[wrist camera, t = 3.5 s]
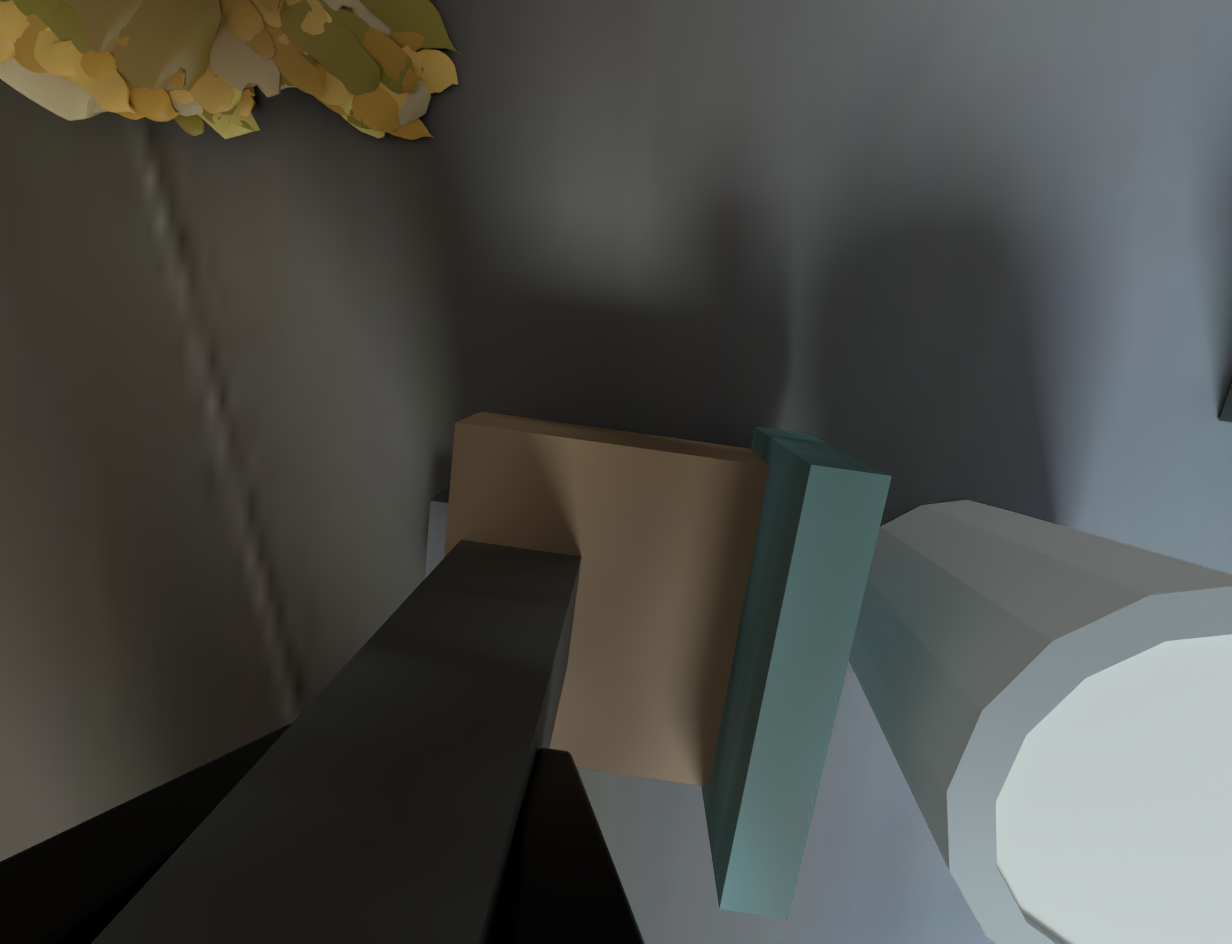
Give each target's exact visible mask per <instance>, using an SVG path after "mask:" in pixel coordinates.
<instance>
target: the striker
mask: <svg viewBox="0 0 1232 944" xmlns="http://www.w3.org/2000/svg"><path fill="white" fill-rule="evenodd" d="M891 478H892V476H891V475H889V474H887V473H885V472H883V471H881V470H879V469H877V468H875V467H873V466H871V465H869V464H867V463H865V462H863V461H861V460H859V459H857V458H856V457H854V456H852V455H850V454H848V453H846V452H844V451H842V450H840V449H838V448H836V447H834V446H832V445H830V444H828V443H826V442H824V441H822V440H820V439H818V438H816V437H814V436H812V435H810V434H806V433H799V432H792V431H785V430H778V429H770V428H763V427H756V426H755V427H754V433H753V438H752V444H751V449H750V448H742V447H735V446H728V445H721V444H714V443H707V442H699V441H692V440H685V439H678V438H671V437H664V436H656V435H649V434H642V433H635V432H628V431H620V430H613V429H606V428H599V427H592V426H585V425H577V424H570V423H563V422H556V421H549V420H541V419H534V418H527V417H520V416H513V415H506V414H498V413H491V412H484V411H481V412H479V413H476V414H474V415H471V416H469V417H466V418H464V419H462V420H459V421H457V422H455V429H454V441H453V453H452V466H451V478H450V491H449V503H448V516H447V528H446V541H445V553H444V559H443V560H442V561H441V562H440V563H439V564H438V565H437V566H436V567H435V568H434V569H433V571H432V572H431V573H430V574H429V575H428V576H427V577H426V578H425V579H424V580H423V581H422V583H421V584H420V585H419V586H418V587H417V588H416V589H415V590H414V591H413V592H412V594H411V595H410V596H409V597H408V598H407V599H406V600H405V601H404V602H403V603H402V604H401V606H400V607H399V608H398V609H397V610H396V611H395V612H394V613H393V614H392V615H391V616H390V618H389V619H388V620H387V621H386V622H385V623H384V624H383V625H382V626H381V627H380V628H379V630H378V631H377V632H376V633H375V634H374V635H373V636H372V637H371V638H370V639H369V640H368V642H367V643H366V644H365V645H364V646H363V647H362V648H361V649H360V650H359V651H358V652H357V654H356V655H355V656H354V657H353V658H352V659H351V660H350V661H349V662H348V663H347V665H346V666H345V667H344V668H343V669H342V670H341V671H340V672H339V673H338V674H337V675H336V677H335V678H334V679H333V680H332V681H331V682H330V683H329V684H328V685H327V686H326V687H325V689H324V690H323V691H322V692H321V693H320V694H319V695H318V696H317V697H316V698H315V699H314V701H313V702H312V703H311V704H310V705H309V706H308V707H307V708H306V709H305V710H304V711H303V713H302V714H301V715H300V716H299V717H298V718H297V719H296V720H295V721H294V722H293V723H292V725H291V726H290V727H289V728H288V729H287V730H286V731H285V732H284V733H283V734H282V736H281V737H280V738H279V739H278V740H277V741H276V742H275V743H274V744H273V745H272V746H271V748H270V749H269V750H268V751H267V752H266V753H265V754H264V755H263V756H262V757H261V758H260V760H259V761H258V762H257V763H256V764H255V765H254V766H253V767H252V768H251V769H250V770H249V772H248V773H247V774H246V775H245V776H244V777H243V778H242V779H241V780H240V781H239V782H238V784H237V785H236V786H235V787H234V788H233V789H232V790H231V791H230V792H229V793H228V795H227V796H226V797H225V798H224V799H223V800H222V801H221V802H220V803H219V804H218V805H217V807H216V808H215V809H214V810H213V811H212V812H211V813H210V814H209V815H208V816H207V817H206V819H205V820H204V821H203V822H202V823H201V824H200V825H199V826H198V827H197V828H196V829H195V831H194V832H193V833H192V834H191V835H190V836H189V837H188V838H187V839H186V840H185V841H184V843H183V844H182V845H181V846H180V847H179V848H178V849H177V850H176V851H175V852H174V853H173V855H172V856H171V857H170V858H169V859H168V860H167V861H166V862H165V863H164V864H163V866H162V867H161V868H160V869H159V870H158V871H157V872H156V873H155V874H154V875H153V876H152V878H151V879H150V880H149V881H148V882H147V883H146V884H145V885H144V886H143V887H142V888H141V890H140V891H139V892H138V893H137V894H136V895H135V896H134V897H133V898H132V899H131V900H130V902H129V903H128V904H127V905H126V906H125V907H124V908H123V909H122V910H121V911H120V912H119V914H118V915H117V916H116V917H115V918H114V919H113V920H112V921H111V922H110V923H109V925H108V926H107V927H106V928H105V929H104V930H103V931H102V932H101V933H100V934H99V935H98V937H97V938H96V939H95V940H94V941H93V942H92V943H91V944H503V941H504V932H505V924H506V915H507V907H508V898H509V890H510V881H511V873H512V865H513V856H514V848H515V839H516V831H517V822H518V817H519V813H520V809H521V806H522V802H523V799H524V795H525V792H526V788H527V785H528V781H529V778H530V774H531V771H532V767H533V764H534V760H535V757H536V754H537V751H538V750H539V749H540V748H550V749H557V750H564V751H568V752H570V753H571V755H572V757H573V760H574V762H575V765H576V767H577V768H582V769H589V770H596V771H603V772H609V773H616V774H623V775H630V776H637V777H644V778H651V779H658V780H665V781H672V782H679V783H686V784H693V785H700V786H702V793H703V799H704V806H705V813H706V820H707V827H708V834H709V841H710V847H711V854H712V861H713V868H714V875H715V882H716V889H717V895H718V902H719V909H723V910H730V911H737V912H744V913H751V914H758V915H764V916H771V917H778V918H785V919H788V915H789V910H790V906H791V902H792V898H793V893H794V889H795V885H796V881H797V876H798V872H799V868H800V864H801V859H802V855H803V851H804V847H805V842H806V838H807V834H808V830H809V826H810V821H811V817H812V813H813V809H814V804H815V800H816V796H817V792H818V787H819V783H820V779H821V775H822V770H823V766H824V762H825V758H826V753H827V749H828V745H829V741H830V736H831V732H832V728H833V724H834V719H835V715H836V711H837V707H838V702H839V698H840V694H841V690H842V685H843V681H844V677H845V673H846V668H847V664H848V660H849V656H850V652H851V647H852V643H853V639H854V635H855V630H856V626H857V622H858V618H859V613H860V609H861V605H862V601H863V596H864V592H865V588H866V584H867V579H868V575H869V571H870V567H871V562H872V558H873V554H874V550H875V545H876V541H877V537H878V533H879V528H880V524H881V520H882V516H883V511H884V507H885V503H886V499H887V494H888V490H889V486H890V482H891Z"/></svg>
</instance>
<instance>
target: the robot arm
mask: <svg viewBox="0 0 1232 944" xmlns="http://www.w3.org/2000/svg"><path fill="white" fill-rule="evenodd" d="M291 725H292V723H291V724H289V725H287V726H285V727H282V728H280V729H278V730H276V731H274V732H272V733H270V734H268V735H266V736H264V737H261V738H259V739H257V740H255V741H253V742H251V743H249V744H247V745H245V746H243V747H240V748H238V749H236V750H234V751H232V752H230V753H228V754H226V755H224V756H222V757H219V758H217V759H215V760H213V761H211V762H209V763H207V764H205V765H203V766H201V767H198V768H196V769H194V770H192V771H190V772H188V773H186V774H184V775H182V776H180V777H177V778H175V779H173V780H171V781H169V782H167V783H165V784H163V785H161V786H159V787H156V788H154V789H152V790H150V791H148V792H146V793H144V794H142V795H140V796H138V797H135V798H133V799H131V800H129V801H127V802H125V803H123V804H121V805H119V806H117V807H114V808H112V809H110V810H108V811H106V812H104V813H102V814H100V815H98V816H96V817H93V818H91V819H89V820H87V821H85V822H83V823H81V824H79V825H77V826H75V827H72V828H70V829H68V830H66V831H64V832H62V833H60V834H58V835H56V836H53V837H51V838H49V839H47V840H45V841H43V842H41V843H39V844H37V845H35V846H32V847H30V848H28V849H26V850H24V851H22V852H20V853H18V854H16V855H14V856H11V857H9V858H7V859H5V860H3V861H1V862H0V944H91V943H92V942H93V941H94V940H95V939H96V938H97V937H98V935H99V934H100V933H101V932H102V931H103V930H104V929H105V928H106V927H107V926H108V925H109V923H110V922H111V921H112V920H113V919H114V918H115V917H116V916H117V915H118V914H119V912H120V911H121V910H122V909H123V908H124V907H125V906H126V905H127V904H128V903H129V902H130V900H131V899H132V898H133V897H134V896H135V895H136V894H137V893H138V892H139V891H140V890H141V888H142V887H143V886H144V885H145V884H146V883H147V882H148V881H149V880H150V879H151V878H152V876H153V875H154V874H155V873H156V872H157V871H158V870H159V869H160V868H161V867H162V866H163V864H164V863H165V862H166V861H167V860H168V859H169V858H170V857H171V856H172V855H173V853H174V852H175V851H176V850H177V849H178V848H179V847H180V846H181V845H182V844H183V843H184V841H185V840H186V839H187V838H188V837H189V836H190V835H191V834H192V833H193V832H194V831H195V829H196V828H197V827H198V826H199V825H200V824H201V823H202V822H203V821H204V820H205V819H206V817H207V816H208V815H209V814H210V813H211V812H212V811H213V810H214V809H215V808H216V807H217V805H218V804H219V803H220V802H221V801H222V800H223V799H224V798H225V797H226V796H227V795H228V793H229V792H230V791H231V790H232V789H233V788H234V787H235V786H236V785H237V784H238V782H239V781H240V780H241V779H242V778H243V777H244V776H245V775H246V774H247V773H248V772H249V770H250V769H251V768H252V767H253V766H254V765H255V764H256V763H257V762H258V761H259V760H260V758H261V757H262V756H263V755H264V754H265V753H266V752H267V751H268V750H269V749H270V748H271V746H272V745H273V744H274V743H275V742H276V741H277V740H278V739H279V738H280V737H281V736H282V734H283V733H284V732H285V731H286V730H287V729H288V728H289V727H290V726H291ZM503 944H645V943H644V941H643V938H642V936H641V933H640V930H639V928H638V925H637V923H636V920H635V917H634V915H633V912H632V910H631V907H630V905H629V902H628V899H627V897H626V894H625V892H624V889H623V886H622V884H621V881H620V879H619V876H618V873H617V871H616V868H615V866H614V863H613V861H612V858H611V855H610V853H609V850H608V848H607V845H606V842H605V840H604V837H603V835H602V832H601V829H600V827H599V824H598V822H597V819H596V816H595V814H594V811H593V809H592V806H591V804H590V801H589V798H588V796H587V793H586V791H585V788H584V785H583V783H582V780H581V778H580V775H579V772H578V770H577V767H576V765H575V762H574V760H573V757H572V755H571V753H570V752H568V751H564V750H557V749H550V748H540V749H539V750H538V751H537V754H536V757H535V760H534V764H533V767H532V771H531V774H530V778H529V781H528V785H527V788H526V792H525V795H524V799H523V802H522V806H521V809H520V813H519V817H518V822H517V831H516V839H515V848H514V856H513V865H512V873H511V881H510V890H509V898H508V907H507V915H506V924H505V932H504V941H503Z"/></svg>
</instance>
